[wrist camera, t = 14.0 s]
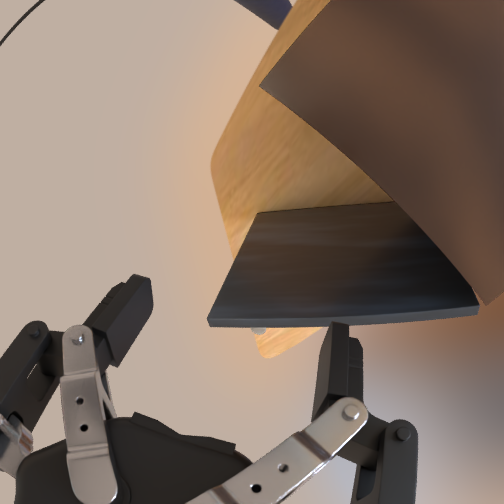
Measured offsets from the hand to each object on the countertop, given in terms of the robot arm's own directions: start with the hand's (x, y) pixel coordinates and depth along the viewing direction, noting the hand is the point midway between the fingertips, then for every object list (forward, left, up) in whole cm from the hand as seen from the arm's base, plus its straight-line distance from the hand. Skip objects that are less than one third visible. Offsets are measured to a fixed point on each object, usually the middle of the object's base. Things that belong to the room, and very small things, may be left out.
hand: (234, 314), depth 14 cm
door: (+8, -13, -36) cm, 39 cm away
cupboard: (+14, +9, -36) cm, 40 cm away
